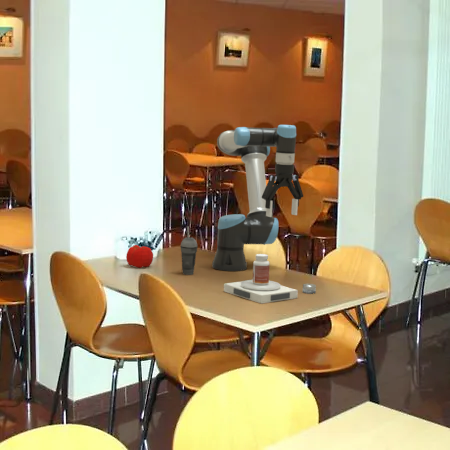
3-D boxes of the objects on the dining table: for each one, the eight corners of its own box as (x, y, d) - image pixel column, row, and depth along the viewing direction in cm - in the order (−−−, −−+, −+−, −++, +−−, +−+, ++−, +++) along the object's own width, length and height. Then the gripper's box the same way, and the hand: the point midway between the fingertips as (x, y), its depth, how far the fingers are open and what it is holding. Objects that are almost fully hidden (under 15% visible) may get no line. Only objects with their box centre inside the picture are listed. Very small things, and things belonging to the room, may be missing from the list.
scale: (222, 291, 315) (223, 280, 315) (259, 286, 327) (259, 276, 326) (261, 303, 298) (261, 292, 297) (298, 298, 310) (298, 287, 309)
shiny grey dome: (299, 292, 321) (300, 284, 321) (309, 290, 324) (309, 283, 324) (309, 294, 317) (309, 286, 317) (318, 293, 320) (318, 285, 320)
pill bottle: (272, 284, 312) (273, 255, 310) (258, 286, 308) (260, 256, 307) (262, 281, 317) (263, 253, 315) (249, 282, 313) (250, 254, 312)
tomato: (157, 267, 355) (158, 247, 354) (132, 270, 349) (133, 249, 347) (145, 263, 364) (146, 243, 363) (121, 265, 357) (121, 244, 356)
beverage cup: (186, 276, 340) (188, 228, 338) (175, 273, 346) (177, 226, 343) (200, 274, 345) (202, 227, 342) (189, 271, 351) (191, 224, 348)
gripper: (266, 165, 321) (263, 218, 324) (314, 164, 336) (310, 215, 339) (254, 163, 327) (251, 215, 330) (301, 162, 341) (298, 212, 345)
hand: (281, 215), depth 335 cm, fingers open, 13 cm apart
